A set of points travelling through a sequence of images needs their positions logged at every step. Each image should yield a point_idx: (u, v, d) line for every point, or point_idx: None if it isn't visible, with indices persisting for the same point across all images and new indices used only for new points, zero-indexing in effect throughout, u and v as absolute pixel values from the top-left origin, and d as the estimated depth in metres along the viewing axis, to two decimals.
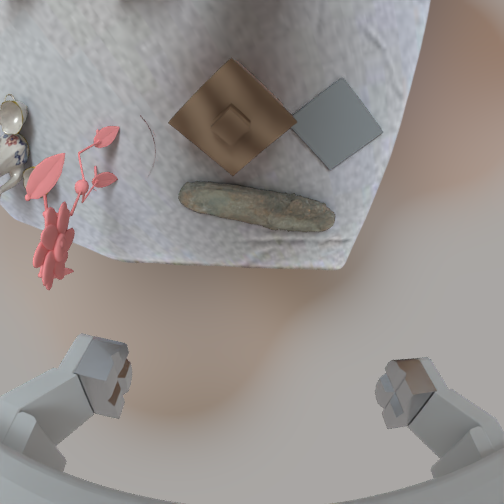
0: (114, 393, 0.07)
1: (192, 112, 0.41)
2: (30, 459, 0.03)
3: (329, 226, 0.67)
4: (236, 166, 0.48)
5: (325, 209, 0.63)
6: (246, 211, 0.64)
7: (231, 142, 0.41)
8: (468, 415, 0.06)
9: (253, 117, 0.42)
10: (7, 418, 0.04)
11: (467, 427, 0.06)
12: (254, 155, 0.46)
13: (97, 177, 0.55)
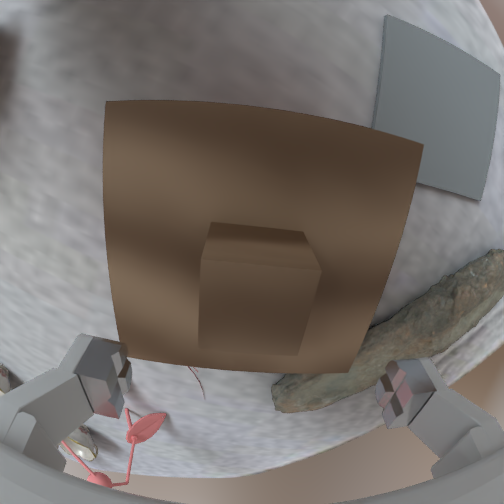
0: (114, 393, 0.07)
1: (144, 309, 0.15)
2: (30, 459, 0.03)
3: None
4: (345, 353, 0.16)
5: (502, 259, 0.24)
6: None
7: (294, 346, 0.11)
8: (468, 415, 0.06)
9: (304, 218, 0.13)
10: (7, 418, 0.04)
11: (467, 427, 0.06)
12: (372, 307, 0.15)
13: (130, 433, 0.30)
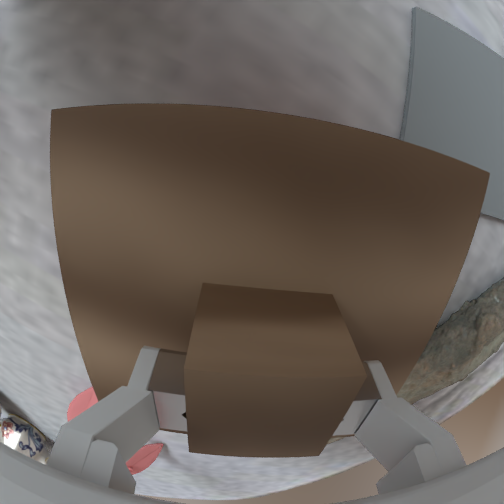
0: None
1: (123, 378, 0.11)
2: (30, 459, 0.03)
3: None
4: None
5: None
6: (408, 395, 0.25)
7: (315, 449, 0.07)
8: (416, 429, 0.05)
9: (335, 277, 0.09)
10: (79, 448, 0.04)
11: (415, 442, 0.05)
12: (406, 371, 0.11)
13: None
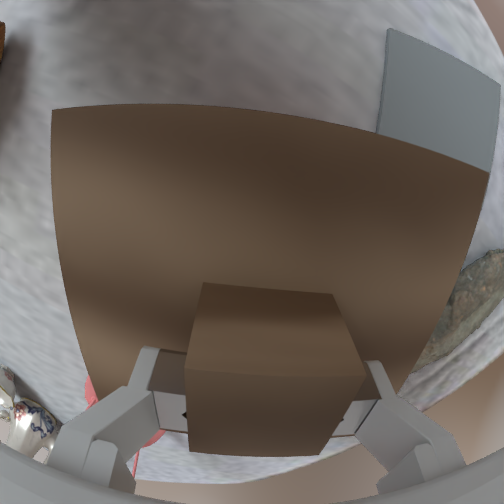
0: None
1: (123, 377, 0.11)
2: (30, 459, 0.03)
3: None
4: None
5: (500, 260, 0.24)
6: None
7: (315, 448, 0.07)
8: (416, 429, 0.05)
9: (335, 276, 0.09)
10: (79, 448, 0.04)
11: (416, 442, 0.05)
12: (406, 370, 0.11)
13: None
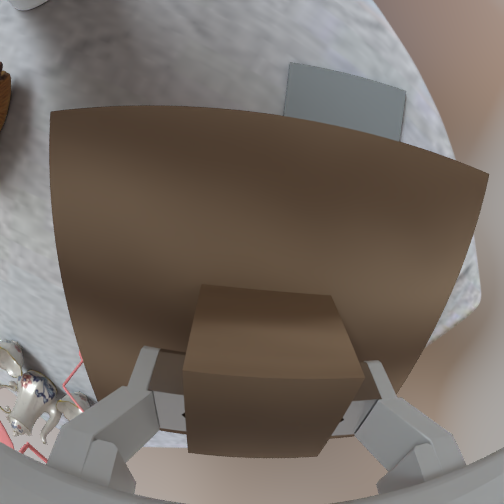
0: None
1: (122, 378, 0.11)
2: (30, 459, 0.03)
3: None
4: None
5: None
6: None
7: (314, 450, 0.07)
8: (416, 429, 0.05)
9: (333, 278, 0.09)
10: (79, 448, 0.04)
11: (415, 442, 0.05)
12: (405, 372, 0.11)
13: None
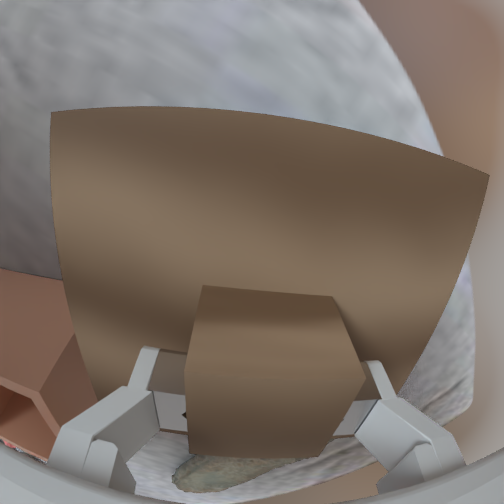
0: None
1: (123, 379, 0.11)
2: (30, 459, 0.03)
3: None
4: None
5: None
6: (248, 468, 0.27)
7: (315, 450, 0.07)
8: (416, 429, 0.05)
9: (334, 279, 0.09)
10: (80, 448, 0.04)
11: (416, 442, 0.05)
12: (406, 372, 0.11)
13: None
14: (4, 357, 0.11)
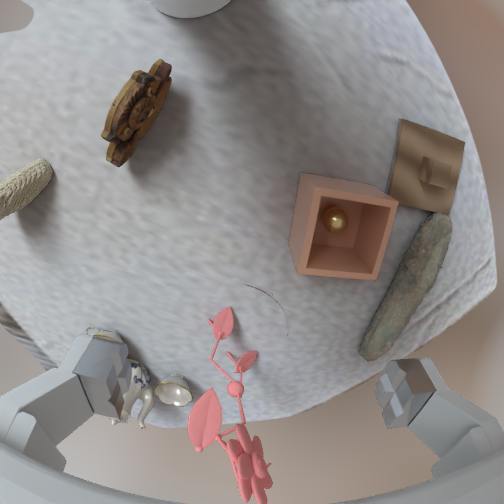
0: (114, 393, 0.07)
1: (401, 181, 0.43)
2: (30, 459, 0.03)
3: (448, 221, 0.45)
4: (448, 205, 0.45)
5: (427, 228, 0.45)
6: (405, 308, 0.53)
7: (446, 185, 0.40)
8: (468, 415, 0.06)
9: (440, 158, 0.41)
10: (7, 418, 0.04)
11: (467, 427, 0.06)
12: (454, 187, 0.44)
13: (239, 364, 0.54)
14: (373, 194, 0.37)
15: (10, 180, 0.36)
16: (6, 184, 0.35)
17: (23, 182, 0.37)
